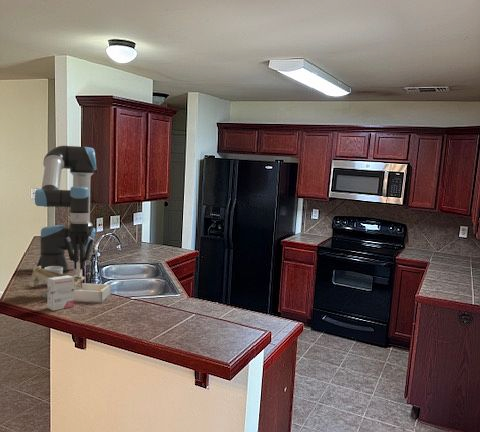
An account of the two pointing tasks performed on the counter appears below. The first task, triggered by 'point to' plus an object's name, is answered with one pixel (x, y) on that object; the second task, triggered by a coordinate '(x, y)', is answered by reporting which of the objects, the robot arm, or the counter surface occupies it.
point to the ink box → (60, 292)
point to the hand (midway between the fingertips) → (79, 276)
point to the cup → (54, 270)
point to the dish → (92, 293)
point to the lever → (49, 276)
